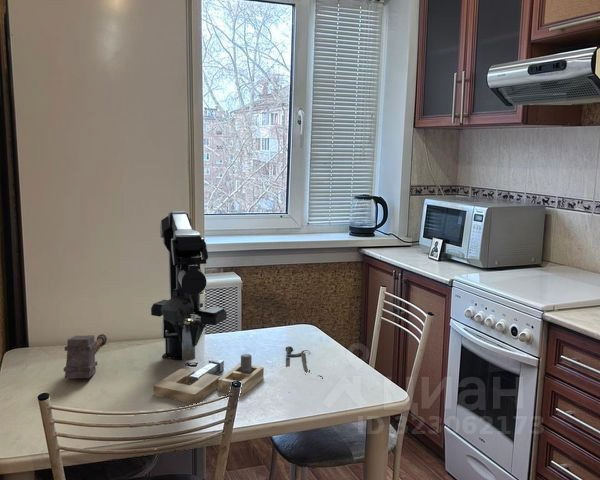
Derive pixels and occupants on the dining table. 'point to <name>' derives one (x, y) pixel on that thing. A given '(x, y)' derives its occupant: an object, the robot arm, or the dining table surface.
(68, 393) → the dining table surface
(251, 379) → the rack
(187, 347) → the grey metal cylinder
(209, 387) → the socket block
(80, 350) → the hammer
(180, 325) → the robot arm
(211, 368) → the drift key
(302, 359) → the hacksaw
